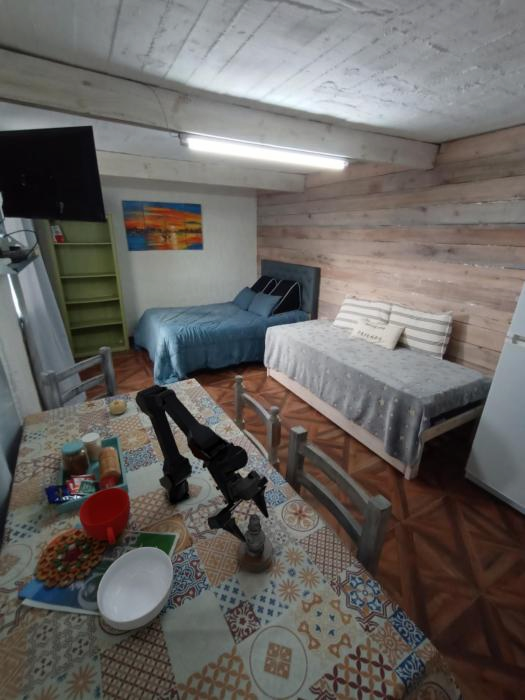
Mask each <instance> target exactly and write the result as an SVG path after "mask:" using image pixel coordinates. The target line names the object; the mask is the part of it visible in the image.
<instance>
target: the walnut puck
mask: <svg viewBox="0 0 525 700" xmlns="http://www.w3.org/2000/svg"><path fill="white" fill-rule="evenodd" d="M265 536H266V540H265V543H264V546H265V548H264V551H263V553H262V554H261V555H259V556H256V557H254V556H250V555H249V554H247V552H246V550H245V543H243V542H242V541H241V540H240V542H239V544H238V561H239V564H240V566H241V567H242V569H244V570H245V571H246V572H248V573H251V574H260V573H263V572H264V571H266V570H267V569H268V568H269V566H270V565H271V563H272V561H273V560H272V559H273V544H272V542H271V540H270V538H269V537H268V536H267V535H265Z"/></svg>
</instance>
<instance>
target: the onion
mask: <svg viewBox="0 0 525 700" xmlns="http://www.w3.org/2000/svg"><path fill="white" fill-rule="evenodd" d="M127 408H128V404H127V402H126V400H124V399H123V398H117V399H114V400H113V401H111V402H110V403H109V405H108V409H109V412H110V413H112V415H120V414H123V413H125V412H126V410H127Z"/></svg>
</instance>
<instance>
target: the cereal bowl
mask: <svg viewBox="0 0 525 700" xmlns="http://www.w3.org/2000/svg"><path fill="white" fill-rule="evenodd" d="M174 577H175V576H174V567H173V563H172V560H171V559H170V556H169V555H168V554H167V553H166V552H165V551H163V549H160V548H157V547H153V546H143V547H138V548H134V549H131V550H129V551H127V552H125V553H123V554H122V555H120V557H118V558H117V559H116V560H114V562H112V563H111V565H110V566H108V568H107V570H106V571H105V573H104V574H103V576H102V577H101V579H100V582H99V585H98V588H97V593H96V603H97V609H98V612H99V614H100V616H101V618H102V619H103V621H104V622H105V624H107V625H109V626H110V628H111V627H112V629H113V628H114V629H115V630H120V631H131V630H135V629H138V628H140V627H143V626H145V625H147V624H148V623H150V622H151V621H153V620H154V619H155V618H156V617H157V616H158V615H159V614H160V612H162V611H163V609H164V608H165V606H166V605H167V603H168V601H169V599H170V597H171V594H172V591H173V587H174V580H175V579H174Z"/></svg>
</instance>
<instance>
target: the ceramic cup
mask: <svg viewBox="0 0 525 700" xmlns="http://www.w3.org/2000/svg"><path fill="white" fill-rule="evenodd" d="M130 513H131V501H130V496H129V493H128V492H127V491H126V490H124V489H123V488H120V487H109V488H104V489H101V490H99V491H97V492H95V493H93V494H92V495H90V496H89V497H88V498H87V499H86V500H85V501H84V502H83V503H82V504H81V506H80V509H79V512H78V517H79V520H80V524H81V526H82V528H83V530H84V531H85V533H86V534H87V535H88V536H89V537H91V538H92V539H94V540H96V541H108V543H109V545H114V544H115V543H116V537H118V536H119V535H120V534H121V533H122V532H123V530H125V528H126V526H127V525H128V522H129V519H130Z"/></svg>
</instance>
